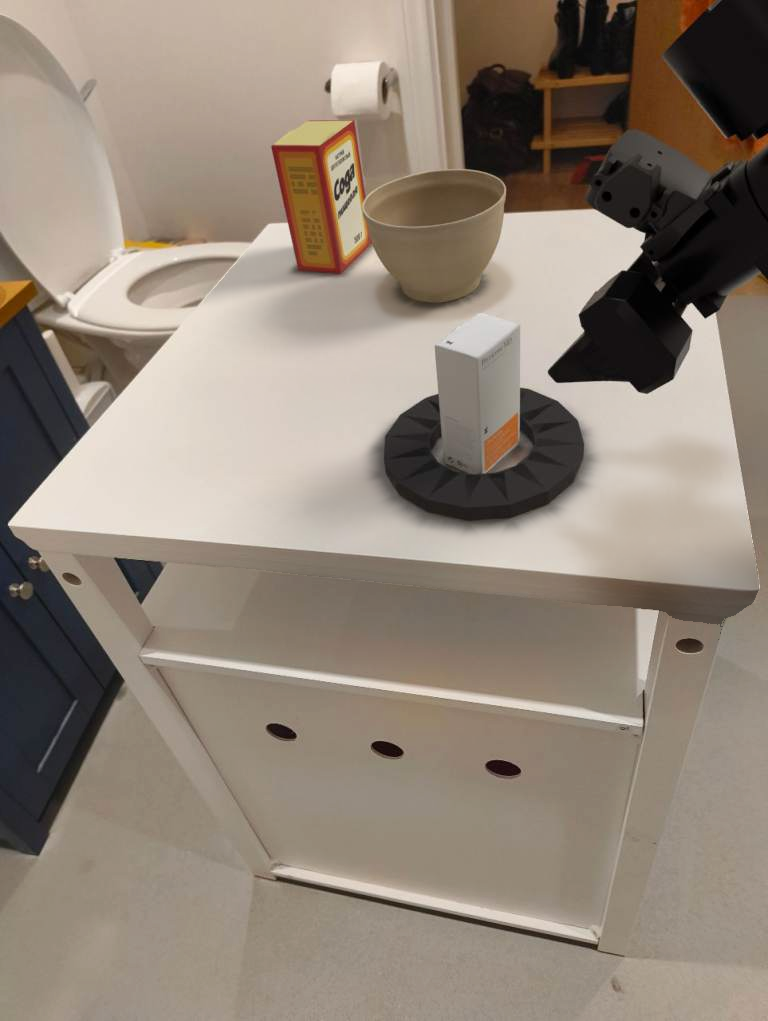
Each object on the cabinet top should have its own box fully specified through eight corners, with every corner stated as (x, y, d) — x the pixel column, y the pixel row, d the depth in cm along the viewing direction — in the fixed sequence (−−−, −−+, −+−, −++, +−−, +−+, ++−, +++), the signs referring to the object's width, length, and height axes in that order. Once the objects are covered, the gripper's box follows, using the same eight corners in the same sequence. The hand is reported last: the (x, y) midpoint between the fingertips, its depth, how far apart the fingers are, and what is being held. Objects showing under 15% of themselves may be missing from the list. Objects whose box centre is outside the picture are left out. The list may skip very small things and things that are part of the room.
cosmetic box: (482, 481, 63) (476, 359, 55) (442, 463, 65) (431, 344, 57) (522, 443, 66) (522, 322, 58) (483, 428, 68) (478, 310, 60)
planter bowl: (361, 275, 95) (347, 188, 88) (479, 246, 97) (475, 159, 89) (395, 331, 83) (382, 237, 76) (529, 297, 85) (529, 202, 78)
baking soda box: (330, 239, 104) (308, 117, 94) (372, 242, 102) (353, 116, 91) (298, 270, 99) (270, 142, 88) (341, 273, 96) (317, 143, 85)
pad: (566, 390, 71) (566, 377, 70) (597, 512, 58) (598, 498, 57) (389, 405, 73) (387, 393, 72) (382, 527, 60) (380, 513, 59)
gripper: (729, 40, 45) (552, 207, 57) (632, 145, 34) (440, 322, 47) (837, 182, 47) (643, 313, 59) (778, 324, 36) (555, 449, 48)
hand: (576, 343), depth 53 cm, fingers open, 9 cm apart
